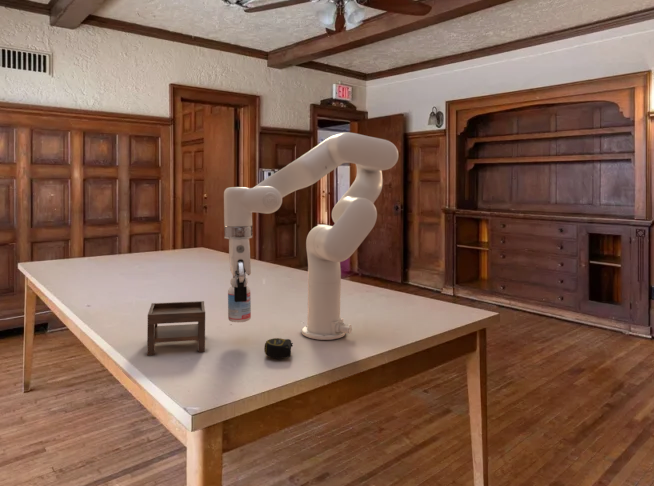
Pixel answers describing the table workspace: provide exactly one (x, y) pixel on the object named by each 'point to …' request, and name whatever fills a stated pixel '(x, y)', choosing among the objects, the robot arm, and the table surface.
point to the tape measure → (278, 348)
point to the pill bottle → (238, 305)
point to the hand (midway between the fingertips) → (239, 297)
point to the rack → (176, 314)
